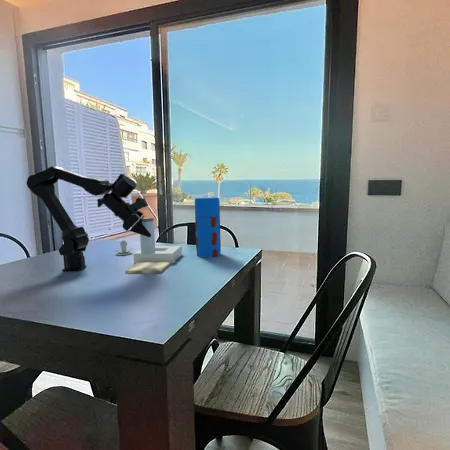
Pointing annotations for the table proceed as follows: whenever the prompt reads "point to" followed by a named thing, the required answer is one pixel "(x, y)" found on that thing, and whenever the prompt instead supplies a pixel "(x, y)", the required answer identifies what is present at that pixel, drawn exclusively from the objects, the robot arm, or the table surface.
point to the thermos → (207, 227)
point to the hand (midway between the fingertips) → (151, 235)
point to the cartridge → (145, 241)
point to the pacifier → (123, 249)
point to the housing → (160, 254)
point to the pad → (148, 267)
